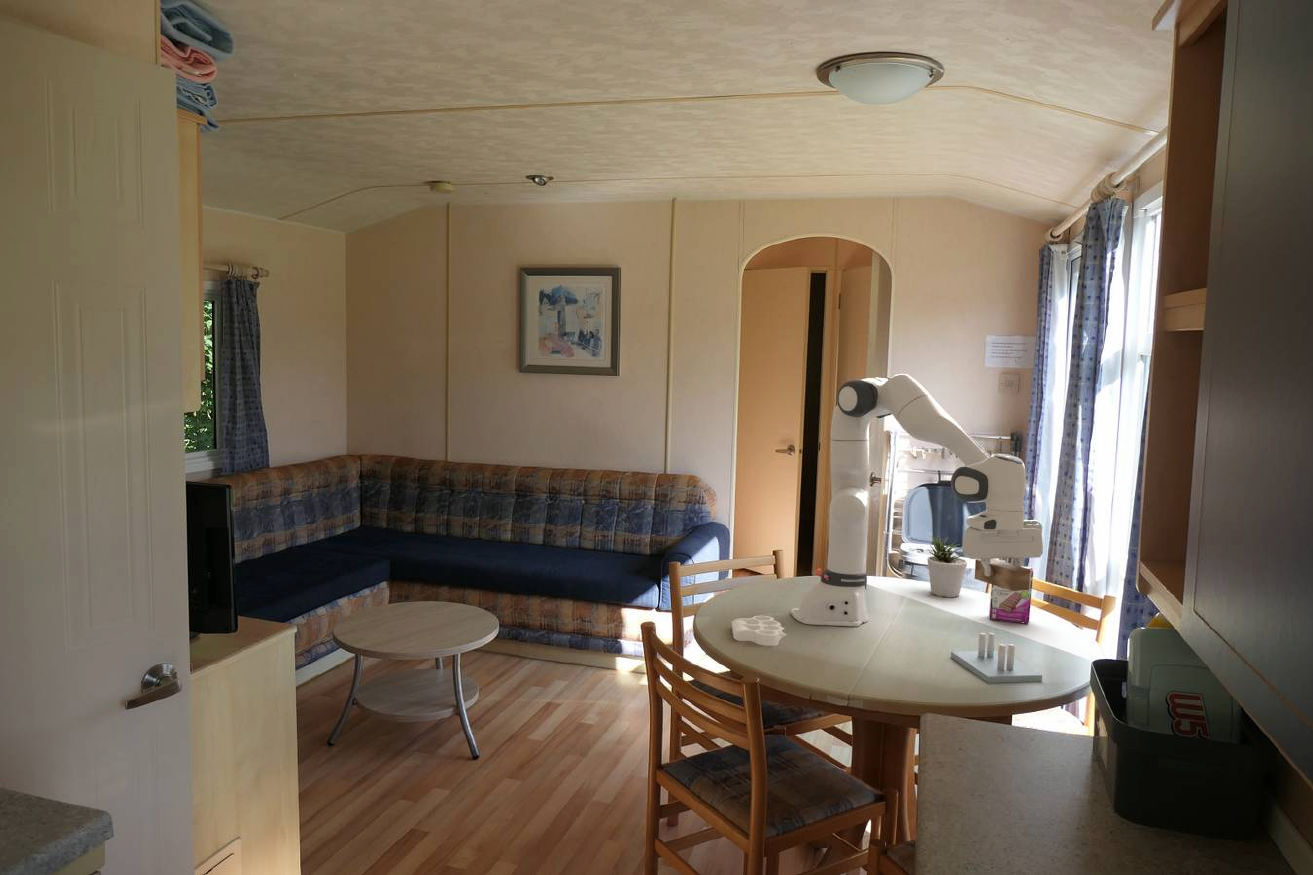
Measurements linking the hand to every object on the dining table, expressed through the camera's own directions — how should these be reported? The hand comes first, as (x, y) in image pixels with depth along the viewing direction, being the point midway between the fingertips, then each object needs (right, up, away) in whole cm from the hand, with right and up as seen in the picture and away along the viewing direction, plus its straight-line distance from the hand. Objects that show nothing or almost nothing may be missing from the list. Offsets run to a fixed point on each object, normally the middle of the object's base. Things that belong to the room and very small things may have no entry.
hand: (1001, 575), depth 215 cm
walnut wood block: (0, -2, 0) cm, 2 cm away
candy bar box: (+20, -21, +45) cm, 54 cm away
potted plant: (+11, -18, +74) cm, 77 cm away
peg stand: (-1, -23, +1) cm, 24 cm away
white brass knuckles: (-57, -21, +22) cm, 65 cm away
